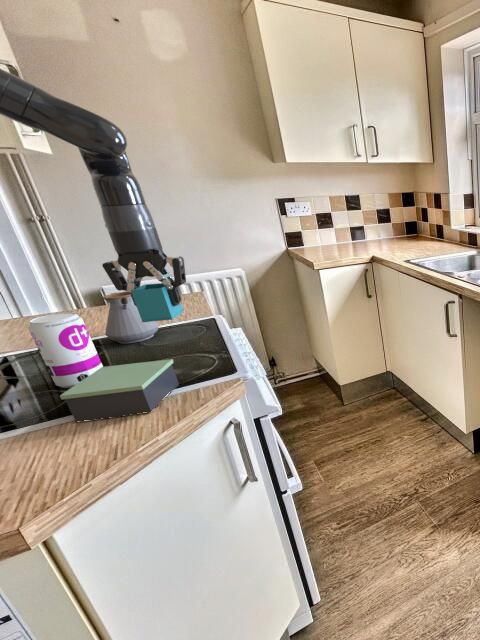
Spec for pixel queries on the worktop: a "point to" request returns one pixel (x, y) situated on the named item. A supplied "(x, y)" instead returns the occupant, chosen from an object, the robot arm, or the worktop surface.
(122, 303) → the coffee pot
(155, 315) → the teal container
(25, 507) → the worktop surface
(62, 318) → the supplement can
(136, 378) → the green and grey box
